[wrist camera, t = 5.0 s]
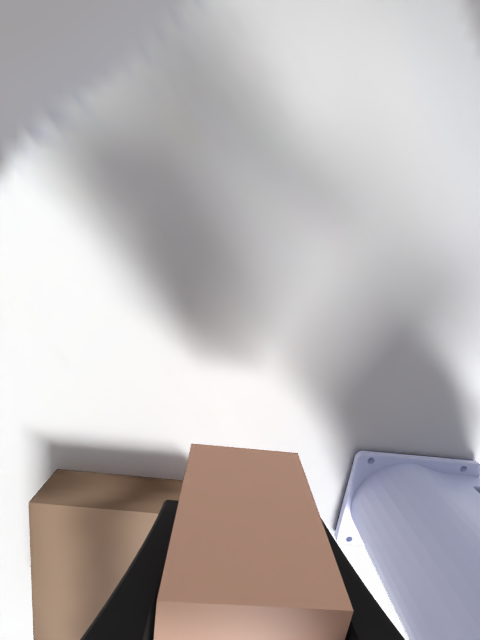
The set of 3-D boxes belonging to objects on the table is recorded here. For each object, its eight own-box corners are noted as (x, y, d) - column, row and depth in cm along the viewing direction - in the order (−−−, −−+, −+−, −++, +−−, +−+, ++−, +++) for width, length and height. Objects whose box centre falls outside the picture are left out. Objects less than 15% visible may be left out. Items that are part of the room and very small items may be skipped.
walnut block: (199, 477, 19) (193, 516, 16) (183, 596, 21) (176, 648, 18) (61, 464, 18) (28, 502, 15) (61, 588, 21) (33, 641, 18)
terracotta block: (297, 453, 11) (353, 610, 6) (280, 536, 12) (316, 734, 7) (191, 443, 10) (156, 600, 6) (182, 530, 11) (145, 730, 6)
